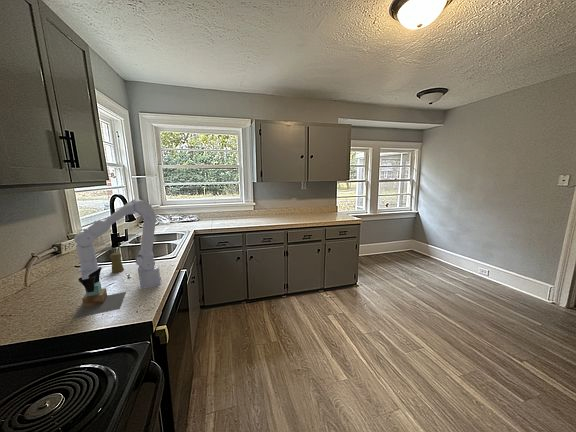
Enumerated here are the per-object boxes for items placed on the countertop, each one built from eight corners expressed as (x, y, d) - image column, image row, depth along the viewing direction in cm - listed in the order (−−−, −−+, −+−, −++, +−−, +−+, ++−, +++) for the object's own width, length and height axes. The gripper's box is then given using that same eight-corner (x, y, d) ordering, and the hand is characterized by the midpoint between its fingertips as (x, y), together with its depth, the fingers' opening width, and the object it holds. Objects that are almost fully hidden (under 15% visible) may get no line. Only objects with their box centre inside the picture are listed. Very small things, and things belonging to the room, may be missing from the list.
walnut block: (107, 295, 113) (106, 288, 112) (103, 303, 107) (102, 295, 106) (88, 299, 110) (87, 291, 109) (83, 307, 104) (82, 298, 103)
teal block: (101, 289, 111) (100, 281, 110) (99, 294, 107) (97, 285, 106) (89, 292, 109) (87, 283, 108) (86, 296, 105) (84, 288, 104)
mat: (126, 292, 117) (126, 291, 117) (119, 309, 102) (119, 308, 102) (85, 300, 110) (85, 299, 110) (72, 320, 96) (71, 319, 96)
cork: (113, 269, 143) (110, 252, 141) (125, 268, 145) (122, 251, 143) (110, 274, 138) (107, 255, 135) (122, 272, 140) (119, 254, 137)
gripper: (81, 255, 109) (87, 282, 112) (69, 266, 96) (76, 297, 99) (101, 252, 112) (105, 279, 115) (91, 263, 99) (97, 293, 102)
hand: (93, 287), depth 107 cm, fingers open, 7 cm apart
